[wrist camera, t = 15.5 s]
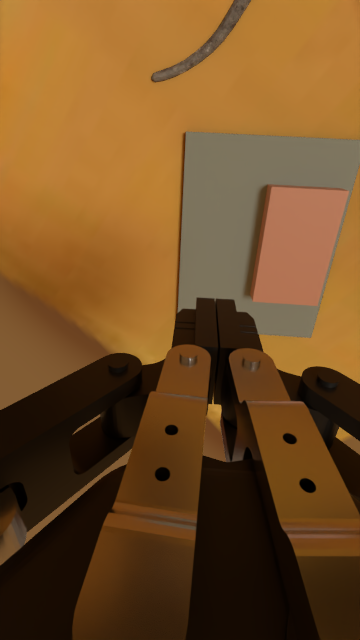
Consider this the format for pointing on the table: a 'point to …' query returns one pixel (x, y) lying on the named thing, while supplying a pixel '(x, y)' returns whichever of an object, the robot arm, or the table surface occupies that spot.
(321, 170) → the mat
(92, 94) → the table surface
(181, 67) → the pliers
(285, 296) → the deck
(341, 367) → the table surface
